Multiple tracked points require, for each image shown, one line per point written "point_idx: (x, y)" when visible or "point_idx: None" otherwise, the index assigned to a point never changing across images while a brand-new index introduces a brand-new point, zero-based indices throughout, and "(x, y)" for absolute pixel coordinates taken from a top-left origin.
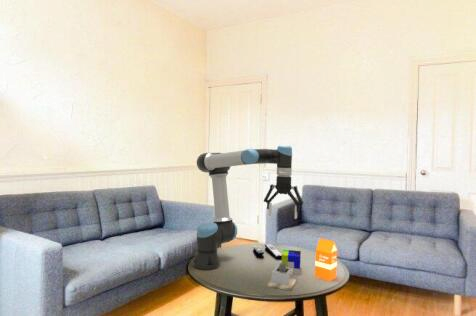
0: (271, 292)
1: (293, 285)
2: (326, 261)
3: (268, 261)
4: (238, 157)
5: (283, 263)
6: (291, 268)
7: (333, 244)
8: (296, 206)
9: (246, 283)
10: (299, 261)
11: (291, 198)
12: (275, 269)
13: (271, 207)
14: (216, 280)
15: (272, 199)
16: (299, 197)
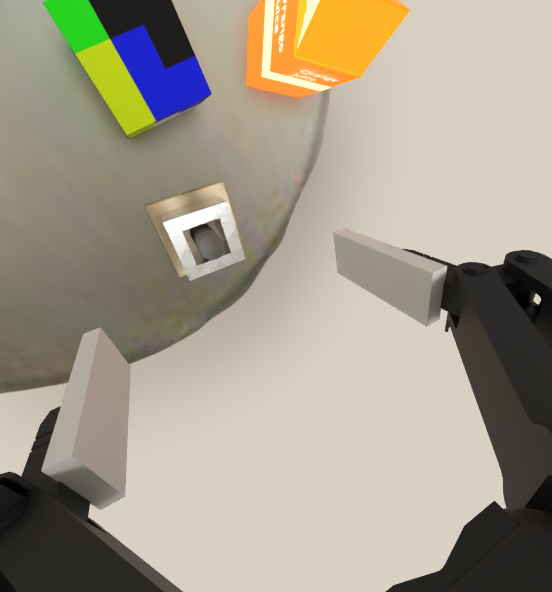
0: (210, 293)
1: (236, 227)
2: (320, 81)
3: None
4: None
5: (211, 242)
6: (223, 207)
7: (395, 27)
8: (435, 313)
9: (117, 304)
10: (203, 99)
11: (481, 410)
12: (187, 257)
13: (88, 394)
14: (28, 358)
15: (111, 542)
16: None
